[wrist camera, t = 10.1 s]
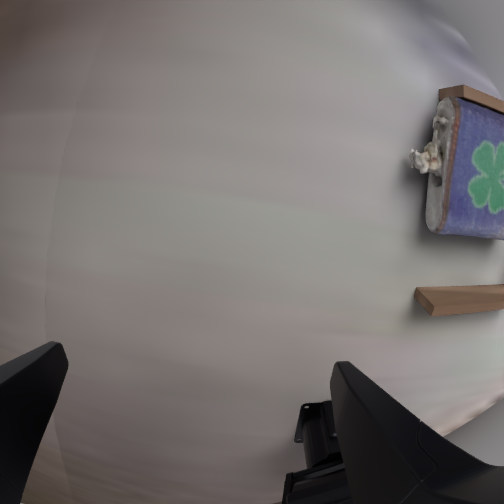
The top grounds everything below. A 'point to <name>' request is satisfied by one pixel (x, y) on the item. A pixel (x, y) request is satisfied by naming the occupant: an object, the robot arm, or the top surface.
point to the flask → (464, 170)
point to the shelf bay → (464, 297)
